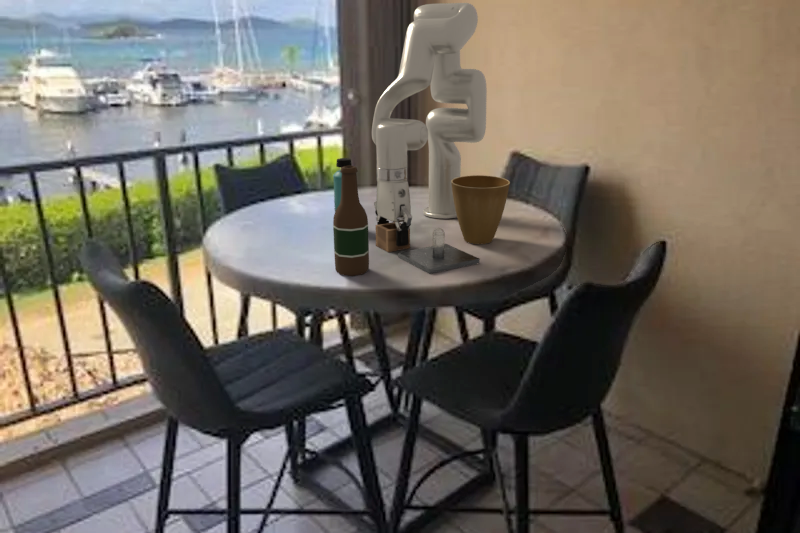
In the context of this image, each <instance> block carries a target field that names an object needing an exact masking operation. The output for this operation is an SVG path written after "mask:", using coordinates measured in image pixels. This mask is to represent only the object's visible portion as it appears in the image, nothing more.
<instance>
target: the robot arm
mask: <svg viewBox="0 0 800 533" xmlns="http://www.w3.org/2000/svg"><path fill="white" fill-rule="evenodd" d="M478 18H479V16H478V12H477V9H476V8H475V6H474V5H473V4H471V3H469V2H452V3H451V2H450V3H448V2H446V3H442V2H441V3H426V4H423V5H419V6H418V7H416V9H415V10H414V12H413V21H411V22H410V23H409V25H408V26H407V29H406V33H405V37H404V43H403V49H402V54H401V60H400V65H399V71H398V75H397V77H396V78H395V80H393V81H392V82H391V83H390V85H388V87H387V88H386V89H385V90H384V91H383V93H382V94H381V96H380V97H379V99H378V100H377V103H376V105H375V108H374V114H373V118H372V119H373V120H372V126H371V139H372V141H373V143H374V144H375V146H376V150H375V151H376V181H377V184H376V200H375V202H373V206H374V209H375V211H374V213H375V216H376V217H375V220H376V223H377V224H376V225H380V224H386V223H390V222H395V224H396V226H397V229H398V231H396V246H398V247H399V246H405V245H408V230H409V229H410V230H411V225H412V219H413V215H412V214H411V213H412V212H411V196H410V187H409V182H408V151H418V150H420V149H422V148H423V147H424V146H425V145H426V144H428V206H427V207H424V208H423V211H422V213H423V215H424V216H426V217H429V218H433V219H442V220H443V219H458V218H457V214H456V210H455V205H454V199H453V192H452V184H451V181H452V180H453V179H454V178H457V177H461V172H462V171H461V170H462V169H461V166H462V161H461V160H462V157H461V152H460V150H459V148H458V146H457V145H456V144H455V143H471V144H472V143H473V144H475V143H479V142H481V141H482V140H483V139H484V138H485V134H486V128H487V95H488V94H487V92H488V91H487V80H486V77H485V74H484V73H483V72H482V71H481V70H479V69H475V68H462V67H461V50H462V49H463V48H464V46H465V45H466V44H467V43H468V42H469V40H470V39H471V38H472V36H473V35H474V34H475V32H476V30H477V26H478V20H479V19H478ZM429 87H430V94H431V98H432V99H433V100H434V102H437V103H441V104H456V105H457V104H458V105H466V106H467V108H461V107H460V108H458V107H438V108H434V109H432V110H430V111H429V113H428V114H427V116H426V118H425V123H424V121H422V120H418V119H410V118H409V119H408V118H406V119H405V118H393V117H391V115H392V113H393V111H394V109H395V108H396V106H397V105H398V104H399V103H401V102H403V101H404V100H405V99H407V98H410V97H411V96H413V95H415V94H418V93H419V92H421V91H424V90H426V89H427V88H429ZM400 223H401V225H400ZM409 227H410V228H409Z"/></svg>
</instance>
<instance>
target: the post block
mask: <svg viewBox="0 0 800 533" xmlns="http://www.w3.org/2000/svg"><path fill="white" fill-rule="evenodd" d="M445 237H446V236H445V230H444V229H442V227H436V228H434V229H433V231H432V246H426V247H422V248H421V247H420V248H415V249H411V250H406V251H405V250H404V251H399V252H398V254H397V256H398V258H399V259H401V260H402V261H405V262H407V263H408V262H409V264H410V265H412V266H414V265H415V266H414V267H416V268H418V269H419V268H420V270H421V269H422V271H423V272H425V273H427V274H429V275H431V273H432V274H435V273H441V272H445V271H444V270H446V271H449V269H451V270H454V268H455V269H460V268H464V267H463V266H465V267H468V266H467V265H470V266H474V265H478V264H477V263H479V264H480V259H481V258H479V257H477V256H474V255H473V254H470V253H468V252H466V251H463V250H461V249H459V248H457V247H455V246H453V245H450V244H448V243H445ZM473 264H474V265H473ZM459 267H460V268H459ZM440 271H441V272H440Z"/></svg>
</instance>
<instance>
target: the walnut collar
mask: <svg viewBox="0 0 800 533" xmlns="http://www.w3.org/2000/svg"><path fill="white" fill-rule="evenodd" d="M401 224H402V222H400V225H401ZM409 228H410V229H409V230H408V245H405V246H399V247H398V246H396V231H398V229H397V226H396V224H395V222H393V221H391V222H389V223H386V224H380V225H377V224H375V247H378V248H379V249H381V250H383V251H385V252H387V253H391V252H392V253H393V252H396V251H402V250H407V249H411V226H410V227H409Z"/></svg>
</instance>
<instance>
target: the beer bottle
mask: <svg viewBox="0 0 800 533" xmlns="http://www.w3.org/2000/svg"><path fill="white" fill-rule="evenodd" d="M340 172H341V173H342V182H341V201H340V204H339V206H338V208H337V209H336V211H335V210H334V214H333V221H332V223H333V224H332V227H333V229H332V230H333V248H334V249H333V251H334V267H335V271H336V272H337V274H339V275H340V276H346V277H355V276H360V275H361V276H362V275H365V273H367V272H368V271H369V268H370V266H369V265H370V250H369V244H370V243H369V222H368V221H369V219H368V215H367V213H366V209H365V208H364V206H363V205H362V204H361V202H360V198H359V189H358V188H359V187H358V186H359V185H358V178H357V177H358V176H357V173H358V168H357V166H354V165H352V166H344V167H340Z"/></svg>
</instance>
